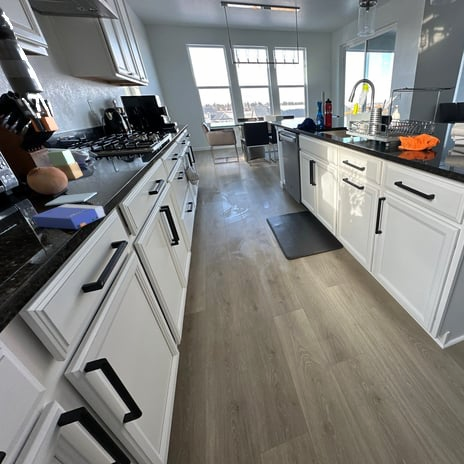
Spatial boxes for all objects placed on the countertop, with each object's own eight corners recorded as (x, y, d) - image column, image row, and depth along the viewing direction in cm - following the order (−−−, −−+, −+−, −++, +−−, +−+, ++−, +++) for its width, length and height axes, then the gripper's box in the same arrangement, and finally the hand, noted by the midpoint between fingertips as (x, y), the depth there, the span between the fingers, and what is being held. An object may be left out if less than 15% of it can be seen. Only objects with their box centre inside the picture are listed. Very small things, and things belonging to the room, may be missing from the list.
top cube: (36, 131, 91) (29, 117, 89) (44, 130, 95) (38, 117, 93) (51, 130, 92) (44, 117, 90) (58, 129, 96) (52, 116, 94)
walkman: (37, 226, 60) (77, 229, 58) (31, 216, 59) (71, 218, 57) (71, 213, 67) (107, 215, 65) (65, 203, 66) (103, 205, 63)
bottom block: (59, 180, 99) (52, 166, 96) (67, 176, 104) (60, 163, 101) (75, 178, 100) (68, 164, 98) (83, 175, 105) (76, 161, 102)
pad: (45, 205, 73) (44, 204, 73) (61, 197, 80) (61, 195, 80) (84, 201, 75) (83, 200, 75) (97, 193, 82) (96, 192, 82)
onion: (52, 205, 82) (23, 183, 74) (40, 193, 86) (10, 171, 78) (81, 188, 87) (56, 165, 79) (68, 177, 90) (43, 154, 82)
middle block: (53, 166, 97) (46, 152, 94) (61, 163, 101) (54, 150, 99) (68, 164, 98) (61, 151, 95) (75, 162, 102) (69, 149, 100)
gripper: (23, 78, 91) (48, 129, 99) (-10, 75, 79) (21, 133, 87) (47, 78, 92) (70, 128, 100) (18, 74, 80) (47, 131, 88)
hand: (47, 130), depth 93 cm, fingers closed on top cube, 4 cm apart
